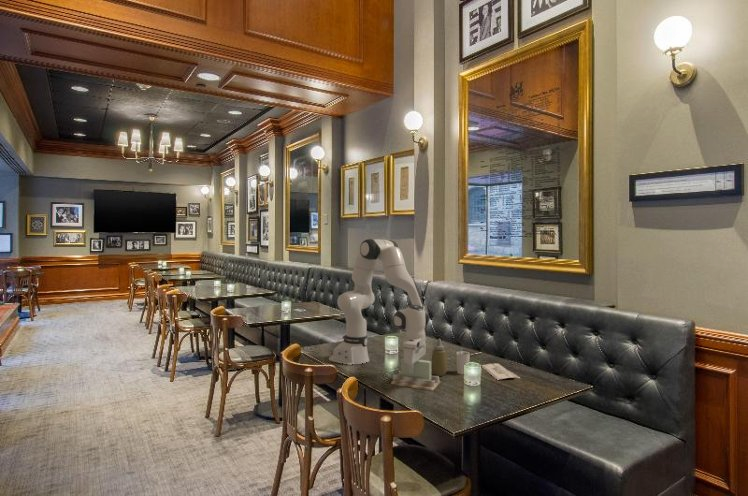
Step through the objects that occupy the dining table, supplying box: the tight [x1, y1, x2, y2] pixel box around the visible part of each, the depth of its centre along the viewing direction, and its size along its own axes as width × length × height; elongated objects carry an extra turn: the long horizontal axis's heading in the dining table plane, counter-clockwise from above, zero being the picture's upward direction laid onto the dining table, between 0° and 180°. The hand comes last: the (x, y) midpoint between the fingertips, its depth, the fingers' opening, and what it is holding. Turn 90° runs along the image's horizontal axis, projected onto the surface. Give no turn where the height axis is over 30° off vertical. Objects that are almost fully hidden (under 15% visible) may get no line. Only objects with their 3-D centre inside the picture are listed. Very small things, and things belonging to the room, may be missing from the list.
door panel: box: [400, 356, 432, 380], centre depth 207 cm, size 14×3×10 cm, turn 65°
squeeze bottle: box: [431, 338, 448, 377], centre depth 220 cm, size 8×8×18 cm
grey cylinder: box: [455, 351, 471, 376], centre depth 223 cm, size 7×7×10 cm
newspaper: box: [481, 362, 521, 381], centre depth 223 cm, size 23×12×2 cm, turn 8°
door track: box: [390, 370, 441, 392], centre depth 207 cm, size 20×12×4 cm, turn 65°
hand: (415, 369), depth 207 cm, fingers open, 8 cm apart
